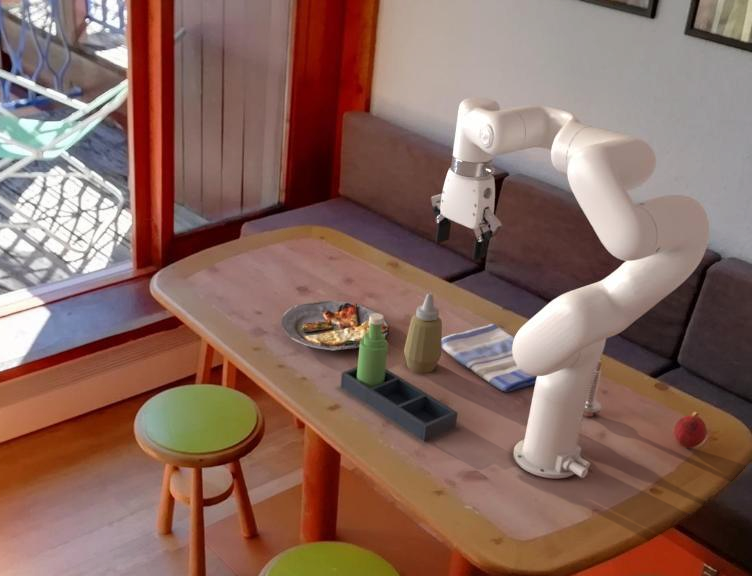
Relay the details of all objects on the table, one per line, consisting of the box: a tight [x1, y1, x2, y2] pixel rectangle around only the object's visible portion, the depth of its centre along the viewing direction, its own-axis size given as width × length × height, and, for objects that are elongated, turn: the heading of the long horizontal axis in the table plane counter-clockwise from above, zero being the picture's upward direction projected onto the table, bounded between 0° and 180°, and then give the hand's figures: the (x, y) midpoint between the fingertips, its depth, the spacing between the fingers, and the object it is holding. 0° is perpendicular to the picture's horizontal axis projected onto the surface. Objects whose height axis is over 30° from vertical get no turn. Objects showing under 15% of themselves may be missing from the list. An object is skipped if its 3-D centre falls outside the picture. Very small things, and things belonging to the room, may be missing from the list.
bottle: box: [357, 312, 389, 388], centre depth 218 cm, size 6×6×17 cm
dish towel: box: [441, 323, 537, 393], centre depth 234 cm, size 17×24×3 cm
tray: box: [340, 366, 459, 442], centre depth 216 cm, size 25×9×4 cm, turn 37°
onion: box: [673, 411, 707, 449], centre depth 205 cm, size 6×6×8 cm
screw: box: [583, 358, 602, 418], centre depth 213 cm, size 13×5×5 cm
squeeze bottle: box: [403, 292, 443, 374], centre depth 227 cm, size 8×8×18 cm
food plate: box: [280, 300, 390, 352], centre depth 244 cm, size 25×23×4 cm
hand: (460, 249), depth 207 cm, fingers open, 9 cm apart
